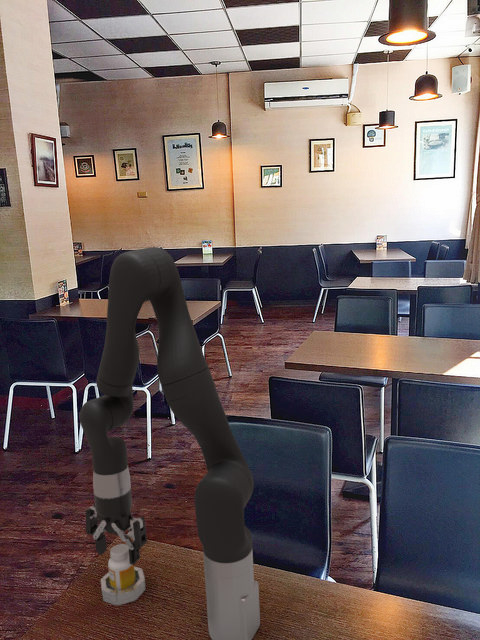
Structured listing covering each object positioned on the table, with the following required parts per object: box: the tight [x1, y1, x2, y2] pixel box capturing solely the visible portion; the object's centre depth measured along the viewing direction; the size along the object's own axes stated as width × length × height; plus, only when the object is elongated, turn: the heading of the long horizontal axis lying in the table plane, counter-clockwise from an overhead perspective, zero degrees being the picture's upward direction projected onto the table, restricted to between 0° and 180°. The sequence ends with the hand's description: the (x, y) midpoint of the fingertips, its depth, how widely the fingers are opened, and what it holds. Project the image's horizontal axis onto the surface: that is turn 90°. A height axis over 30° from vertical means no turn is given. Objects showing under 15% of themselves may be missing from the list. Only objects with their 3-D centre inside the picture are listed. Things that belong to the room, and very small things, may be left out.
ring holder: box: [100, 565, 146, 607], centre depth 111 cm, size 9×9×2 cm
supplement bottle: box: [107, 543, 137, 591], centre depth 110 cm, size 5×5×10 cm
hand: (117, 557), depth 110 cm, fingers open, 8 cm apart
